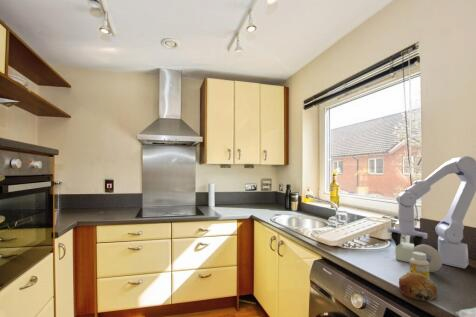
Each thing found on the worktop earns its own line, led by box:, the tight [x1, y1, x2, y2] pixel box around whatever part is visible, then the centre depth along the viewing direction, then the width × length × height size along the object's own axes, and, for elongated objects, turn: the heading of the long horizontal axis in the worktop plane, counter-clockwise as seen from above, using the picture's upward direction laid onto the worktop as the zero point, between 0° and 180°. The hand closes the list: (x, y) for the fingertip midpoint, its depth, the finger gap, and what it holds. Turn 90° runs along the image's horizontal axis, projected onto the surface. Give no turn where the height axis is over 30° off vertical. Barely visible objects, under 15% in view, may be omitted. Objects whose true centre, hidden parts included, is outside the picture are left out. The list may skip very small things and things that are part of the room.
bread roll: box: [398, 271, 438, 302], centre depth 82 cm, size 10×10×8 cm
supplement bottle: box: [409, 252, 430, 279], centre depth 90 cm, size 5×5×10 cm
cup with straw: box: [391, 220, 411, 243], centre depth 124 cm, size 8×9×20 cm
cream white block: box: [395, 242, 414, 263], centre depth 112 cm, size 9×6×5 cm, turn 131°
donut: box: [412, 243, 443, 273], centre depth 99 cm, size 10×4×10 cm, turn 31°
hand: (407, 252), depth 112 cm, fingers closed on cream white block, 6 cm apart
